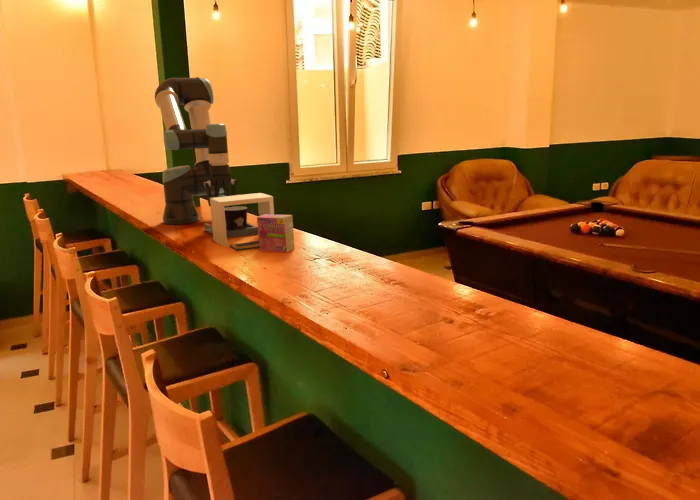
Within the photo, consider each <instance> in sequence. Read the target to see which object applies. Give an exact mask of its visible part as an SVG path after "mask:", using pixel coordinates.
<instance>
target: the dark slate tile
mask: <svg viewBox="0 0 700 500" xmlns="http://www.w3.org/2000/svg"><path fill="white" fill-rule="evenodd" d="M228 244H229V245H228V247H229V248H231V249H233V250H234V251H235V252H241V251H242V252H243V251H247V250H255V249H260V245H259V240H257V241H256V240H255V241H248V242H247V241H246V242H241V243H233V242H230V243H228Z"/></svg>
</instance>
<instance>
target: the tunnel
mask: <svg viewBox="0 0 700 500" xmlns="http://www.w3.org/2000/svg"><path fill="white" fill-rule="evenodd" d="M247 204H257V207H258V217H259V216H261V215H264V214H274V215H275V207H274V206H275V204H274V196H272V195H270V194H266V193H262V192H258V193H255V192H254V193H247V194H246V193H245V194H236V195H234V196H231V195H230V196H224V197H214V196H213V197H212V198H210V206H211V207H210V206H209V207H210V215H211V226H212V228H213V235H212V237H213V238H212V239H213V241H214V242H215V243H217V244H218V245H220V246H222V247H228V238H227V234H226V222H225V210H224V206H230V205H233V206H237V205H247Z"/></svg>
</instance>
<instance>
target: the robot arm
mask: <svg viewBox="0 0 700 500" xmlns="http://www.w3.org/2000/svg"><path fill="white" fill-rule="evenodd" d="M214 99H215V98H214V93H213V88H212V85H211V82H210V81H209V79H207V78H205V77H199V76H197V77H169V78H167V79H164V80H163V81H162V82H161V83H160V84H158V86H157V88H156V89H155V92H154V102H155V104H156V106H157V107H158V108H159V109H160V113H161V115H162V116H161V117H162V119H163V123H164V126H165V127H164V128H165V131H163V143H164V147H165V149H166V150H171V151H173V150H175V151H178V150H179V151H180V150H191V149H194V152H195V158H196V159H195V160H196V162H195V163H194V165H193V167H194V168H191V166H190V165H179V166H174V167H168V168H166V169H164V170H163V171H162V183H163V193H164V195H163V196H164V202H165V205H164V210H163V214H162V223H163V224H164V223H165V225H185V224H192V223H197V222H199V221H200V215H199V212H198V210H197V207H196V204H195V202H194V197H195V196H196V197H197V196H206V197H207V203H208V206H209V207H210V208H211V206H210V198H214V197H219V195H221V194H223V195H226V196H234V195H237V185H238V182H239V181H238V179H233V178H232V177H231V173H230V172H231V171H230V164H229V162H230V160H229V149H228V135H227V134H228V131H227V127H226V126H227V125H225V124H224V123H211V120H210V119H211V118H210V112H209V110H210V109H211V107H212V105H213V104H214ZM180 106H183V108H184V110H185V111H186V112H187V113H188V117H189V123H190V128H191V129H187V126H186V124H185V122H184V118H183V115H182V111H181V109H180ZM229 184H231V189H230V190H231V195H230V191H229ZM212 195H213V196H212ZM228 207H234V205H230V206H228Z"/></svg>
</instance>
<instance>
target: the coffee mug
mask: <svg viewBox="0 0 700 500" xmlns="http://www.w3.org/2000/svg"><path fill="white" fill-rule="evenodd" d="M224 210H225V219H226V222H227V227H226V228H227V229H228V230H235V229H243V228H246V226H247V222H248V220H247V219H248V207H247V206H232V207H228V208H225V209H224Z"/></svg>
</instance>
